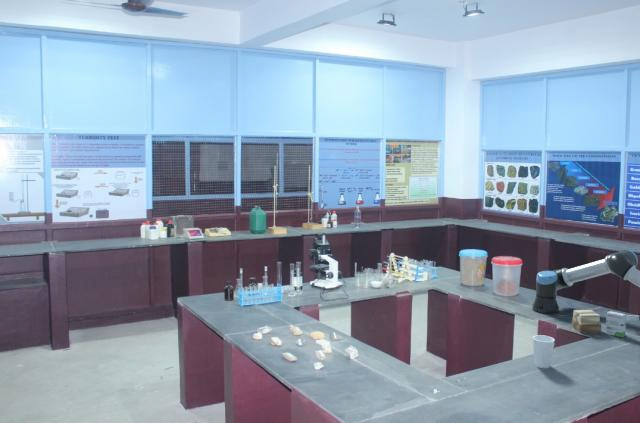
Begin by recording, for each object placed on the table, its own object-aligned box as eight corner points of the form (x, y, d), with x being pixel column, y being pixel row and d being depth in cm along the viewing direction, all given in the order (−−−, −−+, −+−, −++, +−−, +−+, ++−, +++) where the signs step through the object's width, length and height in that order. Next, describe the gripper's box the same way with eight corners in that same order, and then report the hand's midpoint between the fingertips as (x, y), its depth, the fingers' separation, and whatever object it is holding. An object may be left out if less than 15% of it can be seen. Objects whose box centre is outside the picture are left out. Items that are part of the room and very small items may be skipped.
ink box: (625, 335, 301) (627, 314, 299) (622, 337, 297) (623, 316, 296) (608, 331, 307) (609, 310, 305) (605, 333, 304) (606, 312, 302)
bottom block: (571, 327, 316) (571, 318, 315) (591, 327, 315) (591, 318, 315) (580, 333, 305) (580, 324, 304) (600, 333, 304) (601, 324, 304)
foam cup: (534, 369, 258) (535, 341, 256) (529, 361, 267) (530, 334, 265) (555, 370, 256) (557, 342, 255) (550, 362, 265) (551, 335, 264)
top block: (572, 318, 314) (573, 309, 314) (591, 318, 314) (591, 309, 314) (580, 324, 305) (581, 315, 304) (599, 324, 304) (600, 315, 304)
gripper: (688, 336, 289) (646, 336, 289) (659, 321, 314) (621, 321, 314) (689, 322, 288) (647, 322, 288) (660, 307, 313) (621, 308, 313)
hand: (633, 321), depth 301 cm, fingers open, 13 cm apart
